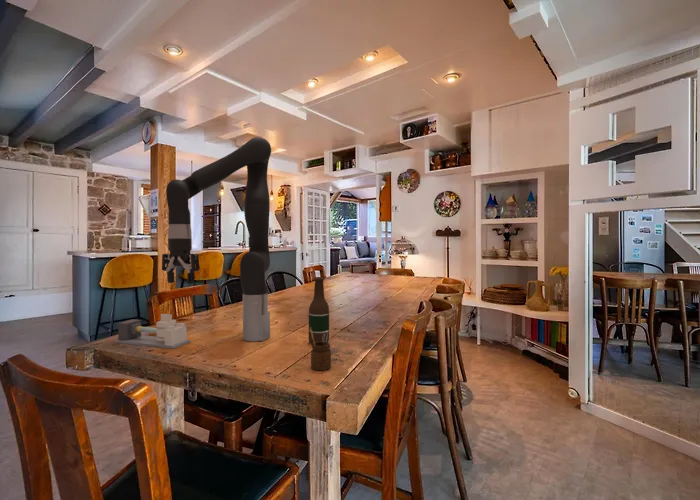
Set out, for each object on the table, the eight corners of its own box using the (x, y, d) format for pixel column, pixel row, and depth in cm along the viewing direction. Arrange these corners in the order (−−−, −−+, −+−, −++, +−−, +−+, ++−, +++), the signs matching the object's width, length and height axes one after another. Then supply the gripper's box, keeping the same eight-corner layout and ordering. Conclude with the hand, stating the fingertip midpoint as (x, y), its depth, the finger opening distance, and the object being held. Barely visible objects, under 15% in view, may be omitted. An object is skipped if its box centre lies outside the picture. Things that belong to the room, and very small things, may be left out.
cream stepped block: (176, 337, 126) (175, 313, 126) (165, 340, 121) (165, 316, 121) (167, 336, 127) (166, 312, 127) (156, 340, 122) (156, 315, 122)
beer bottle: (333, 340, 129) (333, 276, 128) (323, 346, 122) (323, 279, 121) (315, 338, 132) (315, 275, 131) (304, 343, 125) (304, 277, 124)
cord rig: (190, 342, 126) (190, 322, 126) (173, 348, 119) (173, 328, 118) (133, 336, 133) (133, 318, 133) (114, 342, 126) (114, 322, 125)
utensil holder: (331, 370, 100) (331, 329, 100) (309, 371, 99) (309, 329, 99) (330, 363, 106) (331, 324, 105) (310, 363, 105) (310, 324, 105)
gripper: (204, 237, 124) (204, 282, 124) (172, 237, 128) (172, 281, 128) (188, 237, 116) (189, 285, 117) (155, 237, 121) (156, 283, 121)
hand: (180, 283), depth 123 cm, fingers open, 8 cm apart
